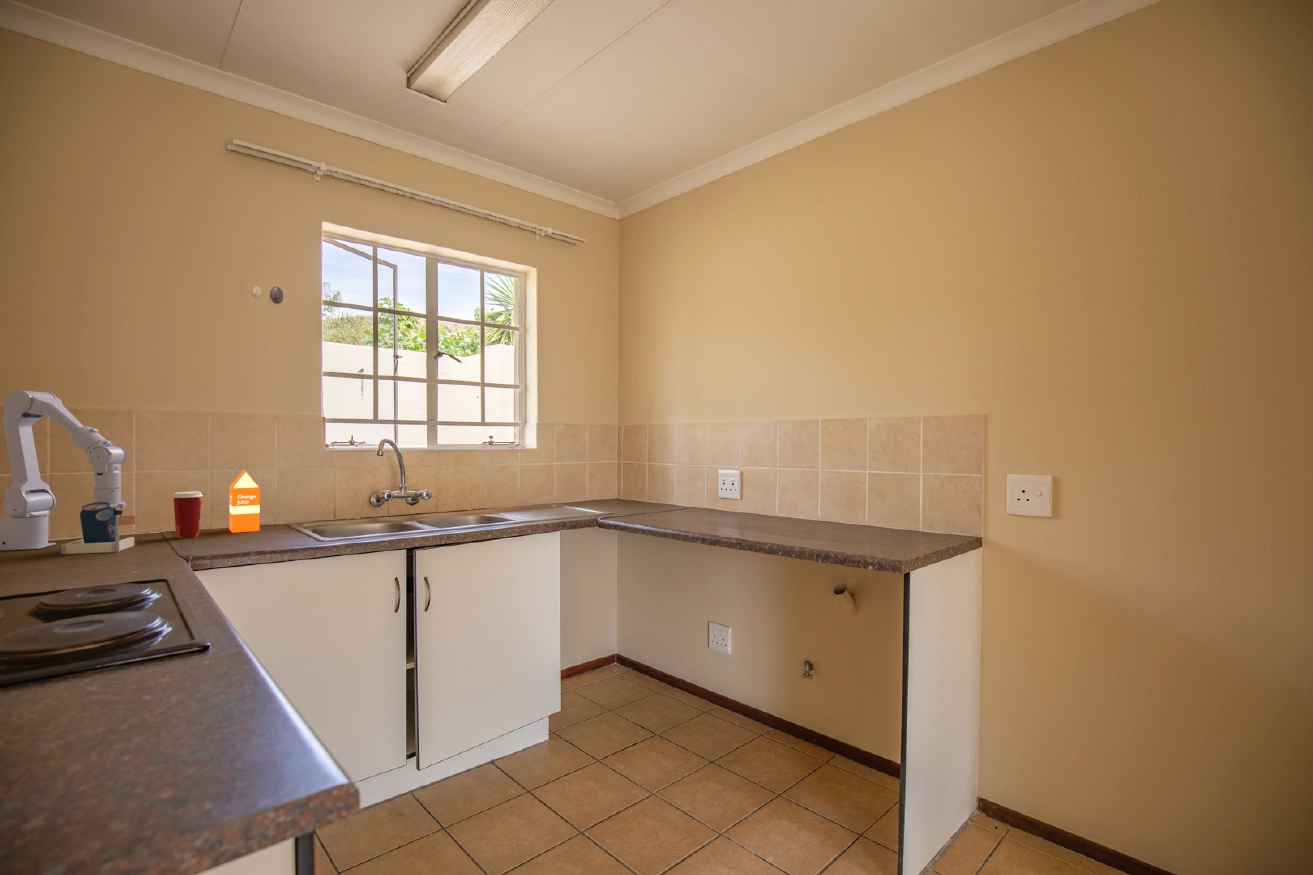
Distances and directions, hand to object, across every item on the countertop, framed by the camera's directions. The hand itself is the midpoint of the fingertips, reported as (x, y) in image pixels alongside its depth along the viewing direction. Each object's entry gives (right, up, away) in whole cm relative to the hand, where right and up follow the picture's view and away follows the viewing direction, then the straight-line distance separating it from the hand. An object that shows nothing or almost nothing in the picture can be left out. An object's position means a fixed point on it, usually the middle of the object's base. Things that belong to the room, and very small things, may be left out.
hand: (107, 536), depth 177 cm
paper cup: (+9, -3, +18) cm, 21 cm away
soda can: (+1, -2, -3) cm, 4 cm away
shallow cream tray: (+3, -3, -4) cm, 6 cm away
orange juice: (+17, -3, +33) cm, 37 cm away
